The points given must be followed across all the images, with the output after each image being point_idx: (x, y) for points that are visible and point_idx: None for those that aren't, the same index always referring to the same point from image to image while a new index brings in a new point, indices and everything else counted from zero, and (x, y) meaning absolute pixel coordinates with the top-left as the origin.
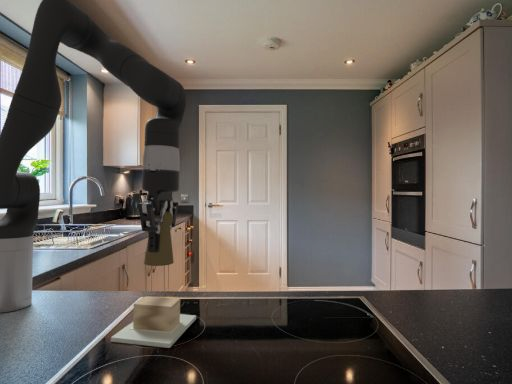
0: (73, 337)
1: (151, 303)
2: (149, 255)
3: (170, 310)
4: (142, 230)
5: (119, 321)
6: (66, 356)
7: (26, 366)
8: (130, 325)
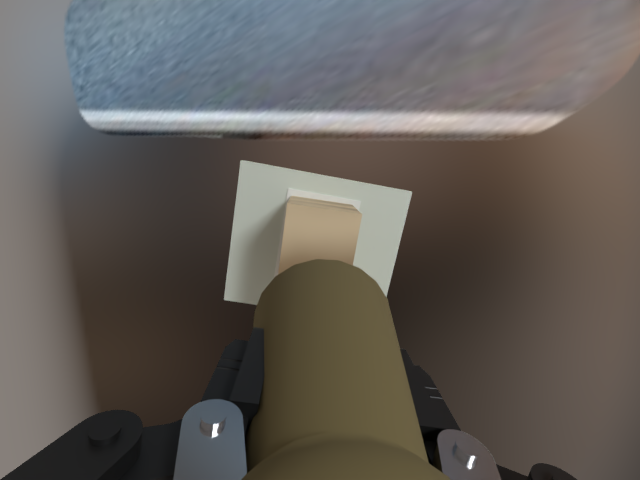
0: (257, 51)
1: (295, 253)
2: (259, 320)
3: None
4: (93, 418)
5: (361, 130)
6: (164, 90)
7: (110, 23)
8: (311, 181)
